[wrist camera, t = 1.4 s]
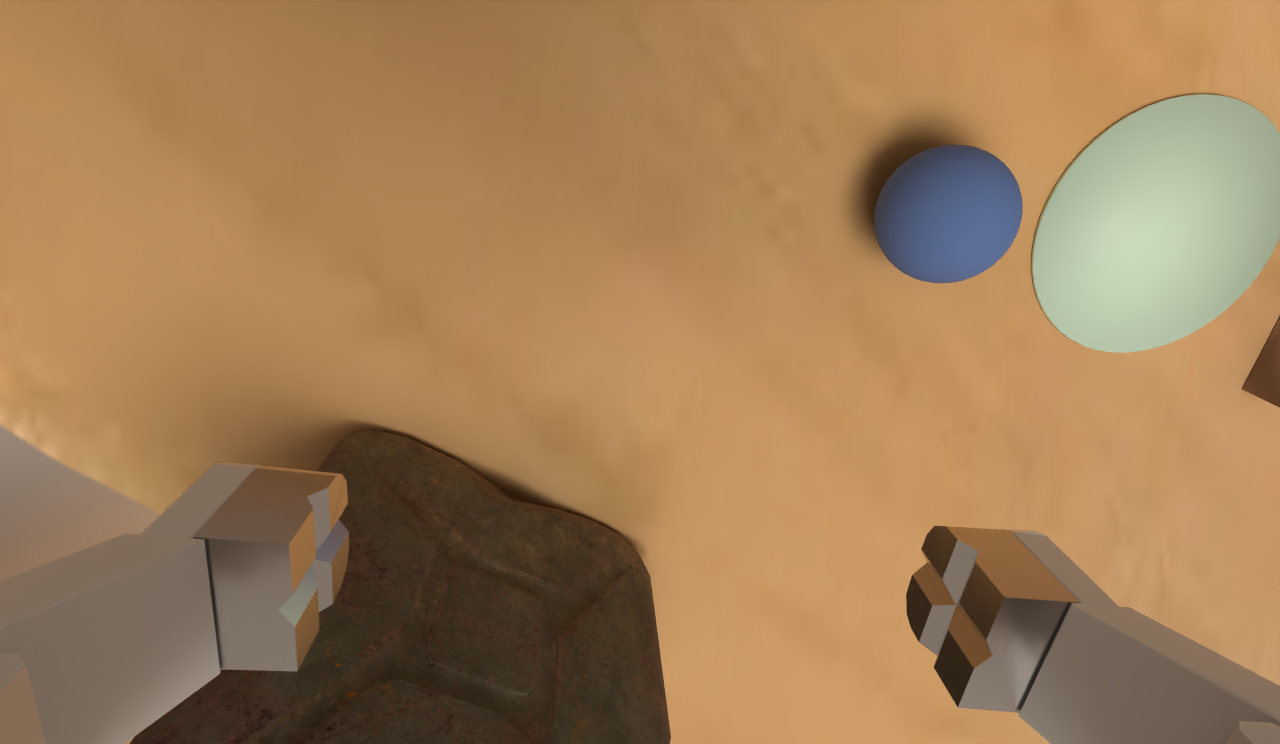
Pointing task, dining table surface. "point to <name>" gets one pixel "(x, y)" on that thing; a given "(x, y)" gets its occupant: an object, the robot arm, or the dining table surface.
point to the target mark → (1159, 223)
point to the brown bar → (1267, 371)
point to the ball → (948, 213)
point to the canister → (453, 625)
